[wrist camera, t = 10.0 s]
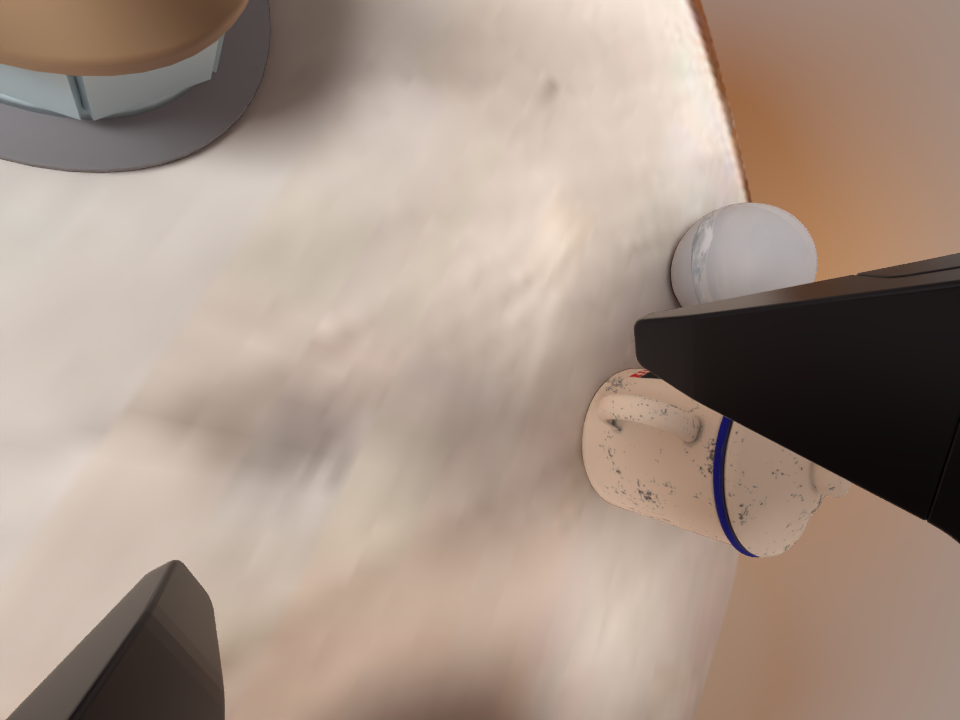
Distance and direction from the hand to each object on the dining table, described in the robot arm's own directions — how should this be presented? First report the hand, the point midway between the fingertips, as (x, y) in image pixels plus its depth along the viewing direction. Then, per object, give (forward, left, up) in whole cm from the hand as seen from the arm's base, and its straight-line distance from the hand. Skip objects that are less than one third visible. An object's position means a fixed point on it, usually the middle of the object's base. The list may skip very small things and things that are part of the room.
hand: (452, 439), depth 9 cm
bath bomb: (+25, -10, -13) cm, 30 cm away
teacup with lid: (+14, -14, -13) cm, 23 cm away
